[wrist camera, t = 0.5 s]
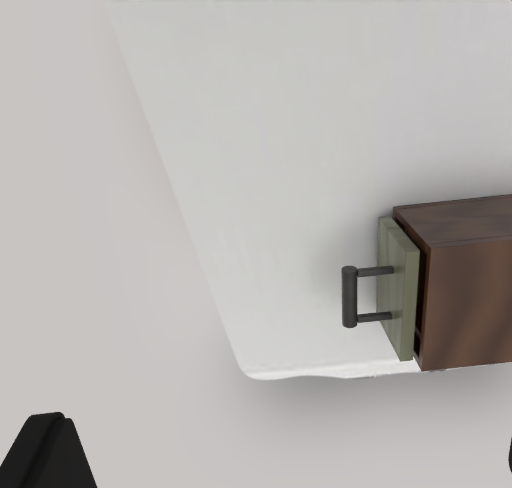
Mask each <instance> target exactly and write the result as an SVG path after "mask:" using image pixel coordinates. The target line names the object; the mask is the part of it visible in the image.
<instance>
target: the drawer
mask: <svg viewBox="0 0 512 488" xmlns="http://www.w3.org/2000/svg"><path fill="white" fill-rule="evenodd" d="M426 260H427V252H426V251H425V250H424V249H423V248H422V246H421V245H420V244H419V243H418V242H417V241H416V240H415V238H414V237H413V236H412V235H411V234H410V233H409V232H408V231H407V229H406V228H405V229H404V232H403V230H402V229H401V228H400V227H399V226H398V225H397V223H396V222H395V221H394V220H393V219H392V218H391V217H390V216H389V217H379V222H378V266H377V267H371V268H362V269H357V268H356V267H354V266H345V267H343V268H342V324H343V326H344V327H347V328H354V327H356V326H357V322H358V323H362V322H371V321H380V322H381V324H382V326H383V328H384V330H385V332H386V334H387V336H388V338H389V340H390V342H391V344H392V346H393V348H394V350H395V352H396V354H397V356H398V358H399V360H400V361H410V360H413V348H414V333H416V335H417V336H418V338H419V339H420V341H421V327H422V314H423V300H424V287H425V274H426ZM376 275H377V311H376V313H368V314H359V315H357V276H358V277H367V276H376Z"/></svg>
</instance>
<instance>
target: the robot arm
mask: <svg viewBox="0 0 512 488" xmlns="http://www.w3.org/2000/svg"><path fill="white" fill-rule="evenodd" d="M509 466H510V470H511V472H512V439H511V445H510V452H509ZM0 488H97V486H96V483H95V480H94V478H93V475H92V472H91V469H90V466H89V464H88V461H87V458H86V456H85V453H84V450H83V447H82V445H81V442H80V439H79V436H78V434H77V431H76V428H75V425H74V423H73V421H72V419H70V418H66V419H65V417H64V415H63V414H62V413H61V412H54V413H45V414H36V415H31V416H30V417H29V418H28V419H27V420H26V422H25V423H24V425H23V427H22V429H21V431H20V432H19V434H18V436H17V438H16V439H15V442H14V443H13V445H12V447H11V448H10V450H9V452H8V454H7V456H6V457H5V459H4V461H3V463H2V464H1V466H0Z"/></svg>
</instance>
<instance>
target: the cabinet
mask: <svg viewBox="0 0 512 488" xmlns="http://www.w3.org/2000/svg"><path fill="white" fill-rule="evenodd" d="M393 220H394V221H395V222H396V223H397V225H398V226H399V227H400V228H401V229H402V230H403V232H404V229H405V228H406V229H407V231H408V232H409V233H410V234H411V235H412V236H413V237H414V238H415V240H416V241H417V242H418V243H419V244H420V245H421V246H422V248H423V249H424V250H425V251H426V252H427V260H426V274H425V287H424V300H423V314H422V327H421V341H420V339H419V338H418V336H417V335H416V333H414V348H413V356H414V358H415V360H416V361H417V363H418V365H419V367H420V369H421V371H429V370H439V369H448V368H458V367H467V366H477V365H487V364H496V363H506V362H512V194H511V195H502V196H492V197H483V198H473V199H464V200H454V201H445V202H435V203H426V204H416V205H406V206H397V207H393Z"/></svg>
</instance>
